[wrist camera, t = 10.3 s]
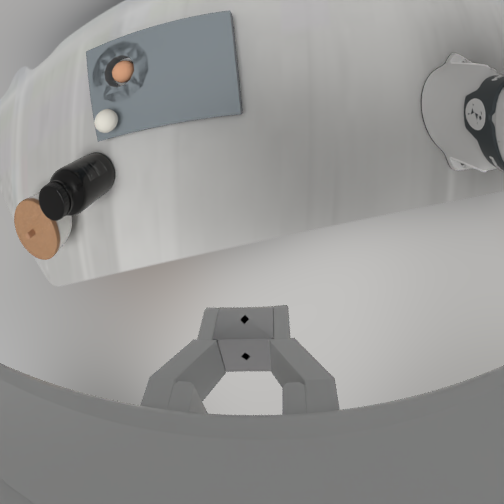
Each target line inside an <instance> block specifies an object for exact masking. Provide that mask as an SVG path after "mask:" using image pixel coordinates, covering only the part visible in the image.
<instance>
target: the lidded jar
mask: <svg viewBox="0 0 504 504" xmlns="http://www.w3.org/2000/svg"><path fill="white" fill-rule="evenodd" d="M39 194H40V193H38V194H35V195H33V196H31V197H29V198H27V199H25V200H23V201H22V202H20V203H19V204H18V206H17V208H16V211H15V216H14V222H15V228H16V232H17V234H18V237H19V239H20V241H21V243H22V244H23V246H24V247H25V248H26V249H27V250H28V251H29V253H31V254H32V255H33V256H35V257H37V258H39V259H44V260H47V259H50V258H52V257H53V256H54V255H55V254H56V253H57V251H58V250H59V249H60V248H61V247H62V246H63V244H64V243H65V242H66V240H67V238H68V237H69V234H70V231H71V227H72V216H67V215H66V216H64V217H63V218H62V219H60V220H58V221H54V220H53V221H52V220H50V219H49V218H47V217H46V216H45V214H43V212H42V210H41V208H40V205H39Z"/></svg>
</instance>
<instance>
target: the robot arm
mask: <svg viewBox="0 0 504 504" xmlns="http://www.w3.org/2000/svg"><path fill="white" fill-rule="evenodd" d="M422 113H423V119H424V122H425V125H426V128H427V130H428V132H429V134H430V136H431V138H432V139H433V141H434V142H435V143H436V145H437V146H438V147H439V148H440V149H441V150H442V151H443V152H444V154H445V155H446V158H447V161H448V163H449V165H450V167H451V168H452V169H453V170H456V171H460V170H466V169H473V168H475V169H477V170H479V171H482V172H486V171H487V170H494V169H500V170H501V171H503V172H504V75H502V74H498V72H497V70H496V69H494V68H489V66H488V65H486V64H478V63H473V62H471V61H470V60H468V59H466V58H465V57H463V56H461V55H460V54H456V53H452V54H451V55H450V56H449V57H448V59H447V61H446V63H445V64H444V65H443V66H441V67H439V68H437V69H436V70H434V71H433V72H432V73H431V74H430V76H429V77H428V79H427V81H426V83H425V85H424V88H423V93H422ZM229 371H230V372H231V371H232V372H233V371H272V373H273V375H274V376H275V378H276V379H277V380H278V382H279V383H280V385H281V386H282V388H283V414H282V415H220V414H208V413H207V411H206V409H205V407H204V405H203V403H202V401H203V400H204V399H205V398H206V396H207V395H208V394H209V393H210V391H211V390H212V389H213V388H214V387H215V385H216V384H217V383H218V382H219V381H220V379H221V378H222V377H223V376H224V374H225V373H226V372H229ZM0 504H504V365H503V366H501V367H499V368H497V369H494V370H492V371H490V372H487V373H484V374H482V375H479V376H477V377H474V378H471V379H469V380H466V381H463V382H460V383H457V384H454V385H451V386H448V387H445V388H442V389H438V390H435V391H432V392H428V393H424V394H420V395H417V396H412V397H409V398H404V399H400V400H395V401H391V402H386V403H381V404H375V405H370V406H364V407H358V408H351V409H343V410H339V404H338V397H337V391H336V384H335V379H334V377H333V376H332V375H331V374H330V373H328V371H326V370H325V368H324V367H322V365H321V364H320V363H319V362H318V361H317V360H316V359H315V358H314V357H312V355H311V354H310V353H308V351H307V350H306V349H305V348H304V347H303V346H301V344H300V343H299V342H298V341H297V340H296V339H295V338H290V327H289V313H288V306H287V305H282V306H274V309H273V306H268V307H247V308H206V309H205V311H204V315H203V319H202V323H201V327H200V331H199V335H198V338H197V340H193V341H191V342H190V343H189V344H188V345H187V346H186V347H184V348H183V349H182V350H181V351H180V352H179V353H177V354H176V355H175V356H174V357H173V358H172V359H170V361H168V362H167V363H166V364H165V365H164V366H162V367H161V368H160V369H159V370H158V371H156V372H155V373H154V374H153V375H152V376H151V377H150V378H149V381H148V384H147V387H146V390H145V393H144V396H143V399H142V402H141V405H140V406H139V405H134V404H128V403H123V402H118V401H114V400H109V399H104V398H101V397H96V396H92V395H88V394H85V393H81V392H77V391H74V390H71V389H67V388H64V387H61V386H58V385H55V384H52V383H49V382H46V381H43V380H40V379H37V378H34V377H32V376H29V375H27V374H24V373H22V372H19V371H17V370H14V369H12V368H9V367H7V366H5V365H3V364H1V363H0Z"/></svg>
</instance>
